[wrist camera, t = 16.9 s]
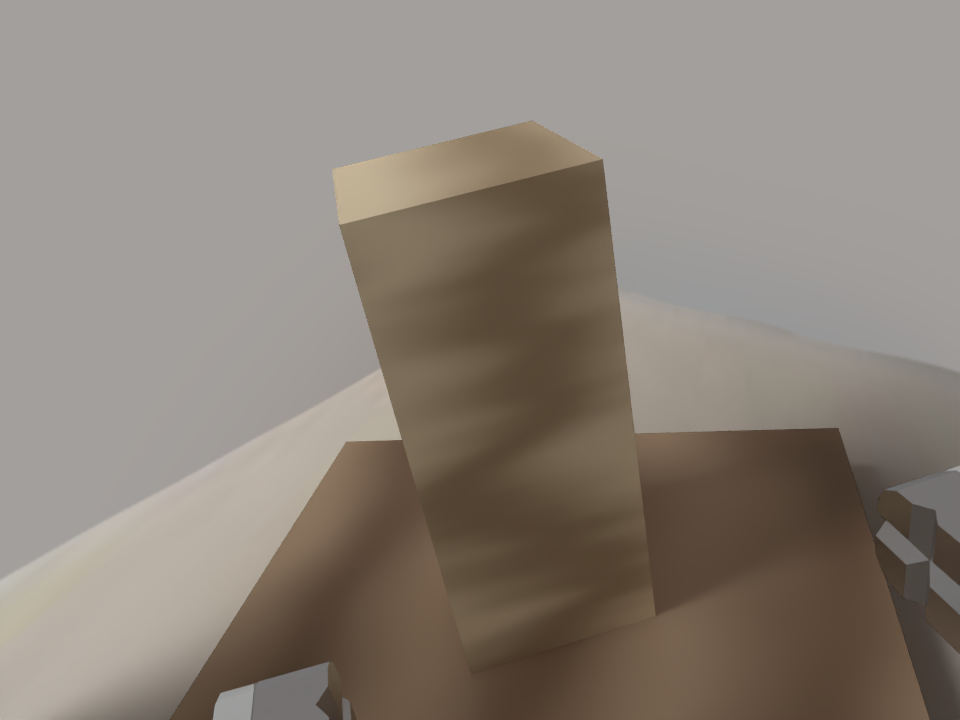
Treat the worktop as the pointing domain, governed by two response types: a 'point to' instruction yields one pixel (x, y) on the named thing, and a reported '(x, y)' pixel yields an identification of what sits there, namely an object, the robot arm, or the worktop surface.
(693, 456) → the walnut board
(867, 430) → the worktop surface
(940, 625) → the robot arm
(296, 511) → the worktop surface
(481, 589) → the oak block
